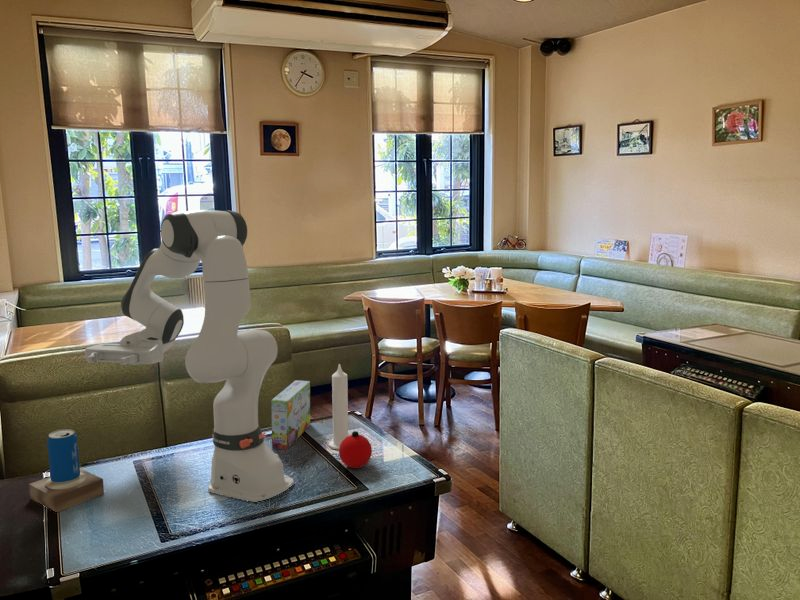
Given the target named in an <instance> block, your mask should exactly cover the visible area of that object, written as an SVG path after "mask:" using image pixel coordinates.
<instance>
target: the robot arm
mask: <svg viewBox="0 0 800 600" xmlns="http://www.w3.org/2000/svg"><path fill="white" fill-rule="evenodd" d="M246 222H247V221H246V220H245V218H244V217H243V216H242V214H241V213H239V212H237V211H233V210H227V209H225V210H217V209H216V210H215V209H213V210H212V209H211V210H210V209H209V210H208V209H193V210H186V211H181V210H179V211H178V210H177V211H174V212H170V213H167V214H166V215H165V216H164V217H163V219H162V221H161V224H160V237H161V243H160V245H159V247H158V248H153V249H152V250H150V251H149V252H148V253H147V254H146V255H145V256H144V257H143V260H142V261H141V263H140V266H139V267H138V269H137V271H136V273H135V276H134V278H133V279H132V282H131V283H130V286H129V288H128V289H127V291H126V292H125V294H124V295H123V297H122V299H121V302H120V308H121V311H122V314H123V315H124V316H125V317H127V318H129V319H131V320H133V321H135V322H137V323H138V324H140V325H142V326H143V327H145V328H143V329H142V330H140V331H135V332H133V333H131V334H128V335H125V336H123V338H122V337H121V339H120V341H119V343H98V344H95V345H92V346H87V347H86V348H84V357H85V360H86V361H87V364H95V363H97V362H98V363H113V364H115V363H117V364H119V366H120V365H121V366H126V365H130V366H131V365H132V366H137V365H153V364H156V363H161V362H163V361H164V356H165V355H164V353H165V352H167V351H168V350H169V349H171V347H172V346H173V345H174V344H175V342H176V339H177V338H178V336H179V335H180V333H181V332H182V329H183V328H184V319H185V317H184V313H183V310H182V309H180V308H179V307H177V306H176V305H174V304H172V303H171V302H170V301H167V300H166V299H164V298H163V297H161V296H159V295H158V294H156V293H155V292H154V291H153V290H152V288H151V285H152V283H153V281H154V279H155V277H156V275H157V276H162V277H166V278H170V279H182V278H186V277H188V276H190V275H192V274H193V273H194V272H195V271H197V268H198V267H199V265H200V263H201V265H202V284H203V291H204V319H203V322H202V326H201V328H200V332H199V333H198V336H197V337H196V339H195V340H194V342H193V344H192V345H191V346H190V347H189V348H188V350H187V352H186V354H185V359H184V360H185V361H184V364H185V369H186V372H187V373H188V375H189V377H190V378H192V379H193V381H195V382H197V383H199V384H210V383H211V384H214V383H220V382H223V381H225V383H224V385H223V387H222V389H221V390H219V392H218V393H217V394H216V396H215V397H214V400H213V403H212V404H213V405H212V407H213V426H214V427H213V429H212V434H211V435H212V443H213V445H214V448H213V449H214V450H213V453H212V458H211V468H210V469H211V471H210V473H211V474H210V481H209V485H208V489H207V492H208V493H210V492H211V494H214V493H216V494H215V495H219V494H221V495H220V496H223V495H225V496H224V497H227V496H229V497H228V498H231V497H233V498H232V499H235V498H237V499H236V500H239V499H243V500H242V501H244V500H248V501H252V502H257V501H262V500H265V499H269V498H271V497H273V496H275V495H277V494H279V493H281V492H283V491H285V490H287V489H288V488H289V487H291V486H292V484H293V483H294V484H295V482H294V481H295V480H294V479H293V478H291V477H290V476H288V475H287V474H285V471H284V465H283V462H282V460H281V459H280V456H279V454H278V453H275V452H274V451H273V450H272V449H271V448H270V447H269V445H267V444H266V442H265V438H266V437H267V435H266V434H267V432H262V429H261V426H260V424H259V398H260V397H259V395H260V391H261V387H262V383H263V381H264V378H265V376H266V374H267V372H268V370H269V369H270V367H271V365H272V364H273V363H274V362H275V361H276V360H277V357H278V351H279V350H278V349H279V348H278V344H277V343H278V342H277V340H276V338H275V337H274V335H273V334H272V333H271V332H270V331H267V330H266V329H265V330H264V329H247V330H242V331H239V327H240V325H241V322H242V320H243V319H244V318H245V316H247V315H248V313H249V312H250V310H251V307H252V302H251V290H250V279H249V271H248V265H247V260H246V254H245V252H244V247H243V246H244V244H245V242H246V241H247V238H248V225H247V223H246ZM238 331H239V332H238ZM294 484H293V485H294ZM292 487H293V486H292ZM292 487H291V488H292ZM288 490H289V489H288ZM288 490H287V491H288ZM269 500H270V499H269ZM248 501H247V502H248ZM252 502H251V503H252ZM262 502H263V501H262ZM257 503H258V502H257Z"/></svg>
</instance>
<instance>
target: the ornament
mask: <svg viewBox="0 0 800 600" xmlns="http://www.w3.org/2000/svg"><path fill="white" fill-rule="evenodd" d="M372 452H373V449H372V444H371V442H370V441H369V439H368V438H366V437H365V436H364V435H361V434H359V432H358V430H357V431H352V432H351V434H350V435H348V437H346V438H345V439H344V440H343V441H342V443H341V444H340V447H339V450H338V456H339V458H340V460H341V462H342V463H343V465H346V466H347V467H349V468H351V469H358V468H362V467H364V466H366V465H367V463H369V461H370V460H371V457H372Z"/></svg>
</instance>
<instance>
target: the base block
mask: <svg viewBox="0 0 800 600" xmlns="http://www.w3.org/2000/svg"><path fill="white" fill-rule="evenodd" d="M28 487H29V488H28V489H29V498H30V500H31V499H33V500H35V501H37V502H39V503H40V504H42V505H44V506H46V507H48V508H50V509H52V510H53V511H55V512H58V513H60V512H62V511H63V512H64V510H67V509H70V508H72V507H74V506H77V505H80V504H82V503H85V502H87V501H89V500H92V499H95V498H98V497H100V496H102V495H105V489H104V479H103V478H102V477H100V476H98V475H96V474H93V473H91V472H89V471H87V470H85V469H83V468H82V467H80V476H79V477H78V478H77V479H76V480H75V481H73V482H70V483H66V484H56V483H55V482H52V481H51V477H50V476H48V477H45V478H42V479H40V480H36V481H34V482H31V483H29V484H28ZM33 500H32V501H33ZM35 501H34V502H35ZM40 504H39V505H40ZM42 505H41V506H42Z"/></svg>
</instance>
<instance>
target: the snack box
mask: <svg viewBox="0 0 800 600" xmlns="http://www.w3.org/2000/svg"><path fill="white" fill-rule="evenodd" d="M270 402H271V403H270V404H271V448H273V449H278V448H279V449H278V450H288V449H289V448H290V447H291V446H292V445H293V444H294V443H295V442H296V441H297V440H298V438H300V437H301V435H302V434H304V432H305V431H306V430H307V429H308V428H309V427H310V426H311V381H310V380H298V379H297V380H296V379H295V380H293V382H292V383H290V384H289V385H288V386H287V387H285V388H284V389H283V390H281V392H280V393H278V394H277V395H276V396H275V397H273V399H271V401H270ZM296 439H297V440H296ZM295 440H296V441H295ZM294 441H295V442H294Z"/></svg>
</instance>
